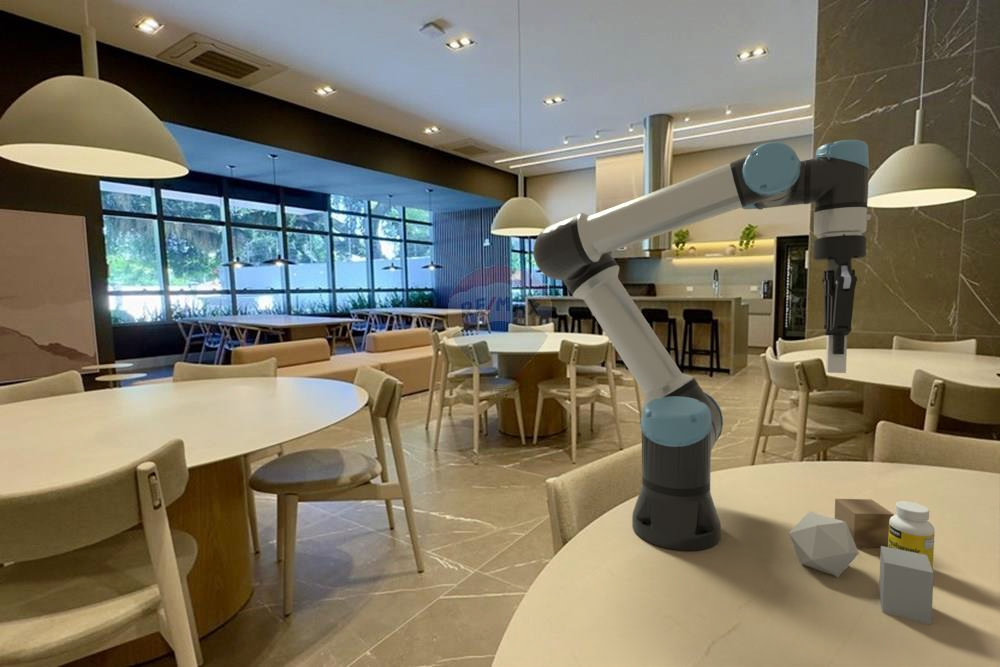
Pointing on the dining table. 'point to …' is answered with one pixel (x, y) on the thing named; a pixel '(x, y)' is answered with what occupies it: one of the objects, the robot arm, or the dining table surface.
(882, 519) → the walnut block
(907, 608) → the grey block
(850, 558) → the die
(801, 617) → the dining table surface
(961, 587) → the dining table surface
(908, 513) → the supplement bottle
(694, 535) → the robot arm
